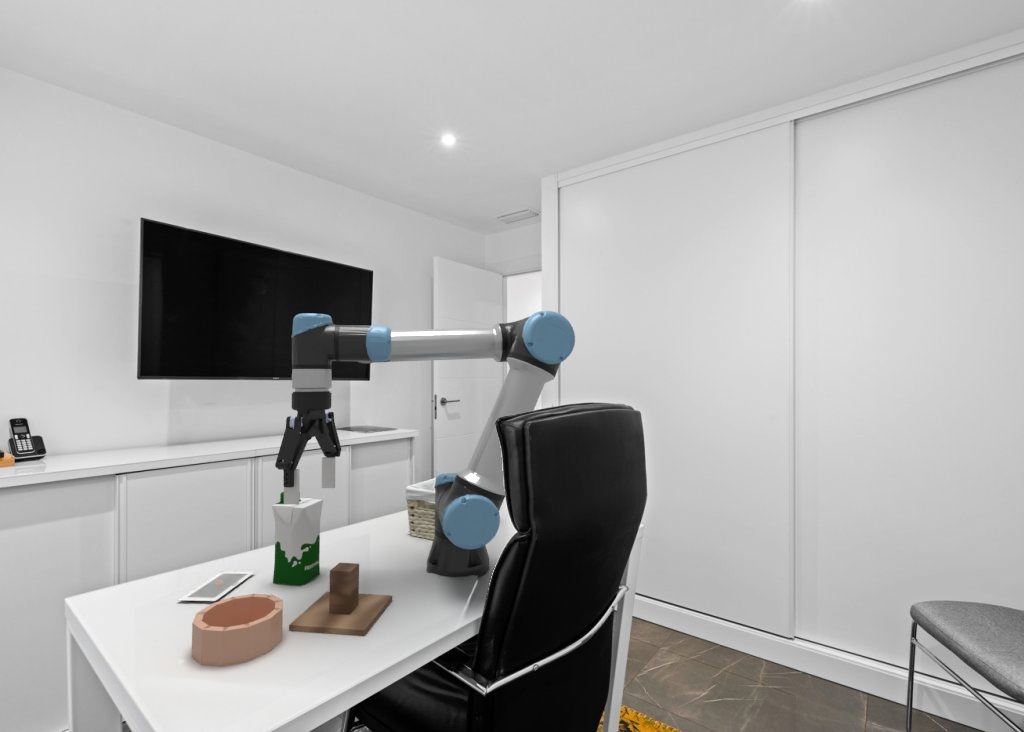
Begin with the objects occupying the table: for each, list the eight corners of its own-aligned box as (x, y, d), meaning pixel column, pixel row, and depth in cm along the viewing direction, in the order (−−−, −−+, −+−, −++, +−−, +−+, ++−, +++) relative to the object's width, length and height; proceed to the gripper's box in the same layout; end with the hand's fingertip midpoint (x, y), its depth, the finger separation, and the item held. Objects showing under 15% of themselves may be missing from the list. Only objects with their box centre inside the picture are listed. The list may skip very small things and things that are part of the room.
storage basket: (448, 546, 138) (449, 492, 138) (401, 537, 145) (402, 485, 145) (490, 523, 159) (491, 477, 159) (448, 516, 166) (448, 472, 167)
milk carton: (291, 573, 117) (293, 487, 118) (326, 576, 115) (327, 489, 116) (265, 588, 109) (267, 496, 109) (303, 592, 107) (304, 498, 107)
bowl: (297, 631, 91) (297, 596, 91) (250, 675, 77) (251, 633, 78) (229, 627, 92) (229, 592, 92) (172, 668, 79) (173, 627, 79)
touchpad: (177, 605, 101) (177, 594, 101) (221, 576, 116) (221, 566, 116) (215, 606, 101) (215, 595, 101) (254, 576, 116) (255, 567, 116)
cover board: (392, 600, 101) (393, 555, 102) (364, 635, 87) (365, 584, 88) (326, 596, 103) (327, 552, 103) (288, 630, 89) (289, 579, 89)
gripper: (326, 388, 114) (325, 481, 114) (254, 392, 90) (253, 511, 89) (357, 388, 113) (356, 482, 113) (293, 392, 89) (292, 512, 88)
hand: (311, 495), depth 101 cm, fingers open, 13 cm apart
